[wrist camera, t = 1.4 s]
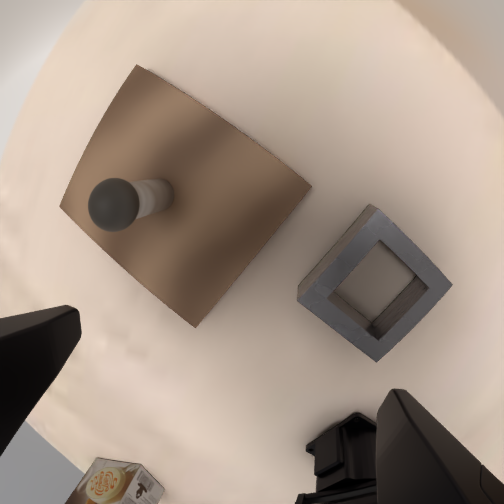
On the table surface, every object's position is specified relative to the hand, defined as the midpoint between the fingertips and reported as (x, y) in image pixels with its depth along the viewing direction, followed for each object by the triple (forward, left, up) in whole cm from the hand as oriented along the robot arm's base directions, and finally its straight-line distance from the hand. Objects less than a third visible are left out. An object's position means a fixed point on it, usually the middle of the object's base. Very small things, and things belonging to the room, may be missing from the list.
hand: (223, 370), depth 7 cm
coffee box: (-5, +38, -13) cm, 40 cm away
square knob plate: (+8, +2, -13) cm, 15 cm away
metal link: (-6, -2, -13) cm, 14 cm away
